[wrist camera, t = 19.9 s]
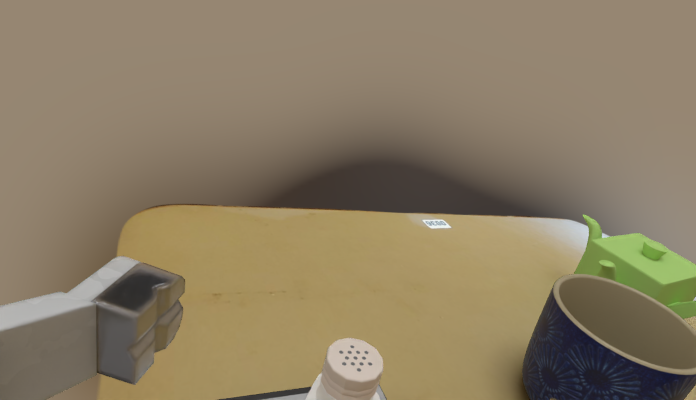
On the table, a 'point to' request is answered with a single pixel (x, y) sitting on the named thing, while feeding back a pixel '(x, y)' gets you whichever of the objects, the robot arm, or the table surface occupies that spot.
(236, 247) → the table surface
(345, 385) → the pepper shaker
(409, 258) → the table surface
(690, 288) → the kettle
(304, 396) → the scale
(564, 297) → the planter
